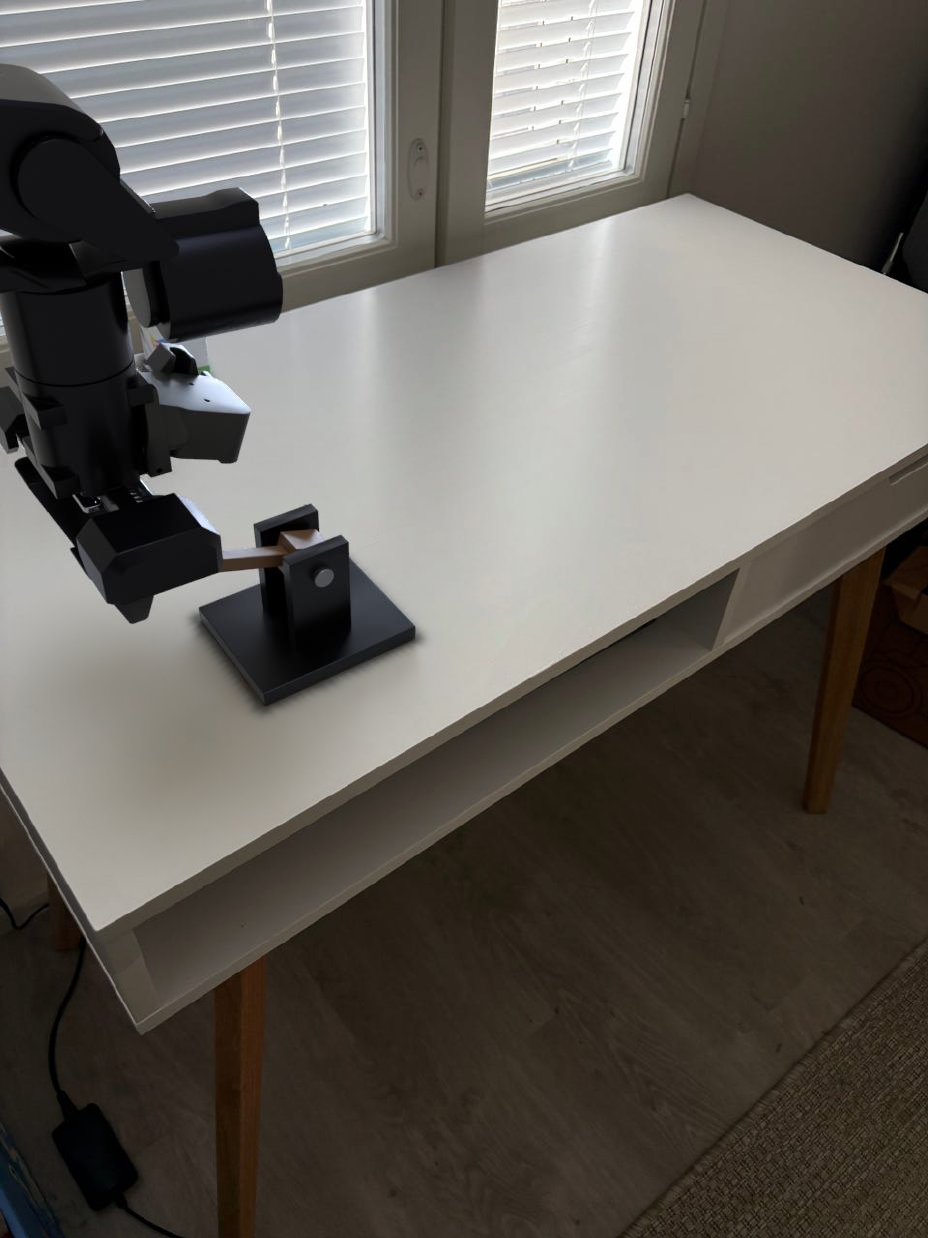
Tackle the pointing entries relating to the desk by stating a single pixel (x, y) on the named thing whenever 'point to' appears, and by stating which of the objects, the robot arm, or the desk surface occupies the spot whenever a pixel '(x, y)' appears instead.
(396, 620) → the bracket
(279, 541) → the lever
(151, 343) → the ink box
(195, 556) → the robot arm
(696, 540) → the desk surface
